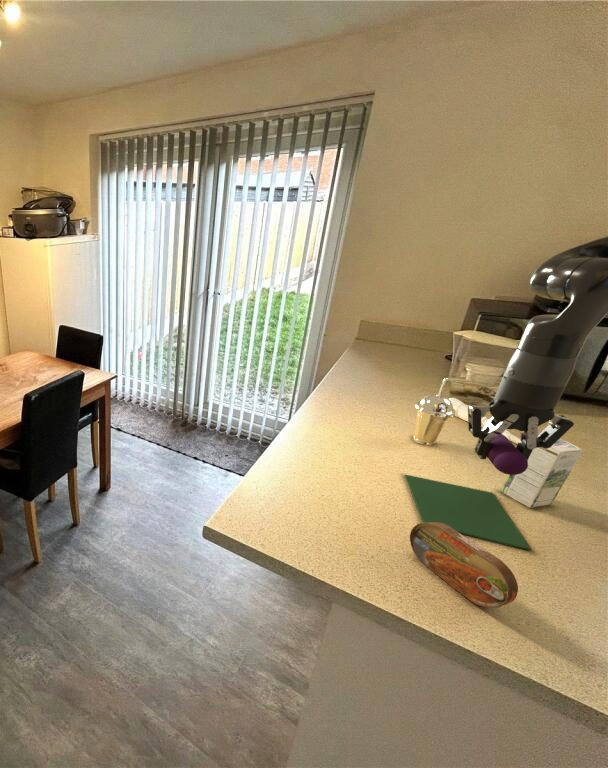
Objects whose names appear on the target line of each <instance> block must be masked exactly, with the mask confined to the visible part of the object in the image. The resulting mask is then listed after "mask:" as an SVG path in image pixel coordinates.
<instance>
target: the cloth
mask: <svg viewBox="0 0 608 768" xmlns="http://www.w3.org/2000/svg"><path fill="white" fill-rule="evenodd" d="M404 477H405V479H406V482H407V486H408V487H409V491H410V493H411V496H412V499H413V500H414V503H415V505H416V508H417V511H418V513H419V516H420V519H421V521H422V523H429V522H438V523H443V524H446V525H448V526H450V527H451V528H453V529H454V530H456V531H458V532H459V533H461V534H462V535H464V536H469V537H472V538H477V539H480V540H484V541H488V542H493V543H496V544H499V545H504V546H509V547H513V548H518V549H521V550H525V551H528V552H530V551H531V548H530V546H529V545H528V543H527V541H526V540H525V539H524V537H523V535H522V534H521V533H520V531H519V530H518V528H517V527H516V525H515V524H514V522H513V521H512V519H511V517H510V516H509V515H508V513H507V512H506V511H505V509H504V508H503V506H502V505H501V503H500V501H499V500H498V498H497V497H496V495H495V494H494V493H493V492H491V491H486V490H481V489H477V488H471V487H467V486H462V485H457V484H452V483H449V482H443V481H438V480H433V479H428V478H423V477H418V476H414V475H409V474H405V475H404Z"/></svg>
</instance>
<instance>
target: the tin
mask: <svg viewBox="0 0 608 768" xmlns="http://www.w3.org/2000/svg"><path fill="white" fill-rule="evenodd" d="M409 543H410V547H411V549H412V551H413V554H414V555H415V557H416V558H417V559H418V560H419V562H421V563H422V565H424V566H425V567H427V569H429V570H430V571H431V572H432V573H434V574H435V575H436V576H438V577H439V578H440V579H441V580H443V581H444V582H445V583H447V584H448V585H449V586H450V587H451V588H453V589H454V590H456V591H457V592H458V593H459V594H460V595H461V596H462V597H464V598H465V599H467V600H468V601H470V602H471V603H473V604H475V605H477V606H479V607H482V608H486V609H498V608H502V607H503V606H507V605H509V604H511V603H513V602H514V601H515V600H516V598H517V597H518V592H519V585H518V581H517V578H516V576H515V575H514V573H513V571H512V570H511V569H510V568H509V566H508V565H506V563H504V561H503V560H501V559H500V558H499V557H497V556H496V555H494V554H492V553H491V552H489V550H486V549H485V548H483V547H482V546H480V545H479V544H477V543H476V542H474V541H473V540H471V539H470V538H469V537H467V536H466V535H464V534H461V533H459V532H458V531H456V530H454V529H453V528H451V527H450V526H448V525H446V524H443V523H438V522H429V523H423V522H420V523H418V524H415V525H414V526H413V527H412V528H411V531H410V533H409Z"/></svg>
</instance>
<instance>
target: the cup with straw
mask: <svg viewBox="0 0 608 768" xmlns="http://www.w3.org/2000/svg"><path fill="white" fill-rule="evenodd" d="M448 381H450V382H461V383H471V384H473V383H474V379H469V378H468V379H467V378H456V377H455V378H454V377H446V378H444V379H443V380H442V382H441V385H440V387H439V390H438V393H437V394H430V395H426V396H424V397H423V398H422V399H421V400H418V401H417V402H416V403H415V404H414V407H415V409H416V421H415V425H414V431H413V437H412V440H413V441H414V442H416V443H417V444H419V445H423V446H434V444H435V442H436V441H437V440H438V437H439V435H440V434H441V432H442V430H443V429H444V427H445V425H446V424H447V422H448V421H449V420H450V418H453V417H456V416H455V410H454V409H453V405H452V403H451V401H450V400H449V398H447V397H446V396H444V395H442V394H443V391H444V389H445V386H446V383H447V382H448Z"/></svg>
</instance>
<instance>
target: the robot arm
mask: <svg viewBox="0 0 608 768" xmlns="http://www.w3.org/2000/svg"><path fill="white" fill-rule="evenodd" d="M529 288H530V290H531V292H533V294H535V295H536V296H538V297H541V298H542V299H543V298H544V299H548V300H554V301H560V302H564V303H565V302H567V303H568V305H567V306H566V307H565V308H564V309H563V310H562V311H561V312H560V313H558V314H540V315H535V316H533V317H532V318H530V319H529V321H528V322H527V323H526V325H525V328H524V330H523V333H522V335H521V338H520V339H519V342H518V344H517V347H516V349H515V351H514V353H513V354H512V355H511V357H510V359H509V361H508V363H507V366H506V368H505V370H504V372H503V375H502V378H501V381H500V383H499V386H498V387H497V390H496V392H495V396H494V398H493V399H492V400H491V401H490V402H488V404H479V405H477V404H475V403H469V404H467V406H468V422H467V423H468V424H467V427H468V429H467V430H468V432H470V433H471V436H473V437H474V438H476V439H477V438H478V439H479V440H478V439H477V442H476V444H475V447H474V452H475V454H476V455H477V456H478V458H479V459H480V460H481V459H482V460H486V459H488V457H487V455H488V453H489V451H490V449H491V446H492V444H493V443H492V441H493V440H494V439H495V438H496V437H497V436H498V435H499V434H502V433H503V432H504V431H505V430H517V431H519V432H520V440H521V443H518V444H516V446H515V447H516V448H517V449H518V450H519V451H520V452H521V453H522V454H523V455H524V457H525V458H526V459H527V461H528V458H529V456H530V455H531V452H532V450H533V449H535V448H538V447H543V448H550V447H551V446H552V445H553V444H554V443H555V442H556V441H558V440H559V439H562V437H564V435H565V434H567V432H568V431H570V430H571V428H573V427H574V425H575V423H574V421H572V420H571V419H570V418H568V417H567V416H565V415H563V414H561V415H558V414H555V411H554V410H555V408H556V407H557V406H558V404H559V402H560V400H561V398H562V396H563V394H564V392H565V390H566V387H567V385H568V383H569V381H570V380H571V379H572V375H573V373H574V371H575V368H576V363H577V361H578V357H579V356H580V354H581V352H582V349H583V347H584V345H585V343H586V342H587V340H588V337H589V335H590V334H591V332H592V331H593V330H594V329H595V328H596V327H597V326H598V324H600V323H601V321H603V319H604V318H605V317H606V316H607V315H608V235H607V236H604V237H600V238H597V239H593V240H590V241H588V242H586V243H583V244H579V245H577V246H574V247H571V248H568V249H566V250H563V251H561V252H559V253H556V254H555V255H553V256H551V257H550V258H548V259H546V260H545V261H544V262H542V263H541V264H540V265H539V266H538V267H537V268H536V269H535V270H534V272H533V273H532V275H531V277H530V279H529ZM487 413H490V415H491V416H492V417H490V418H489V419H490V420H489V421H488V422H487V423H486V426H485V427H484V428H483V429H482V428H481V417H484V416H485V417H486V415H487ZM546 423H548V425H547V426H546V427H545V428H544V429H543V430H542V431H541V432H540V433H539V427H540V426H542V425H544V424H546ZM538 433H539V434H538Z"/></svg>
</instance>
